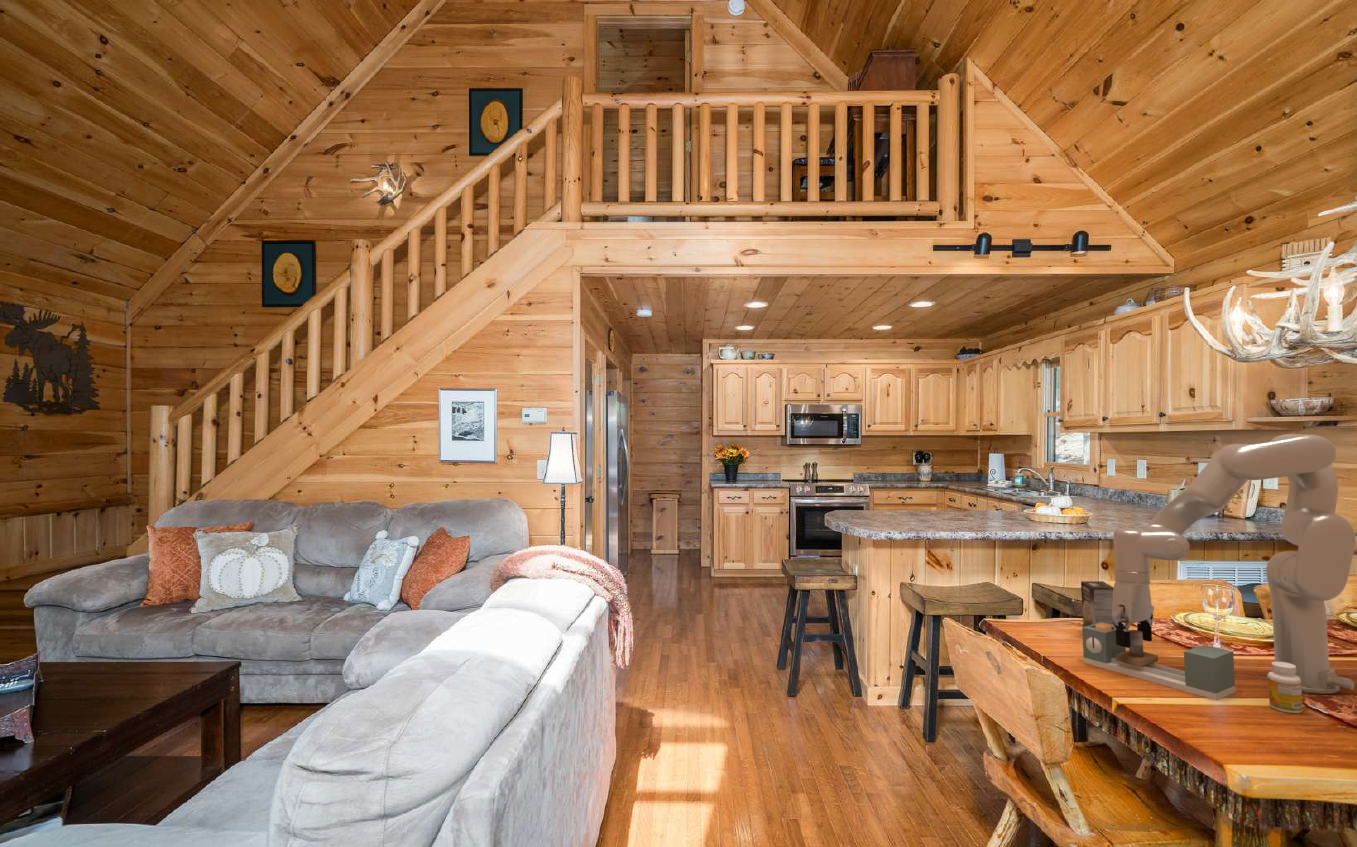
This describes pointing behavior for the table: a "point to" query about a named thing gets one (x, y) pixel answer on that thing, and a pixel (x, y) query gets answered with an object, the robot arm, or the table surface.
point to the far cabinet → (1100, 643)
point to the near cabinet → (1209, 668)
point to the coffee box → (1096, 602)
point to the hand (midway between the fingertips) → (1134, 643)
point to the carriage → (1136, 652)
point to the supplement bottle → (1285, 688)
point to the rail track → (1158, 676)
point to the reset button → (1103, 627)
